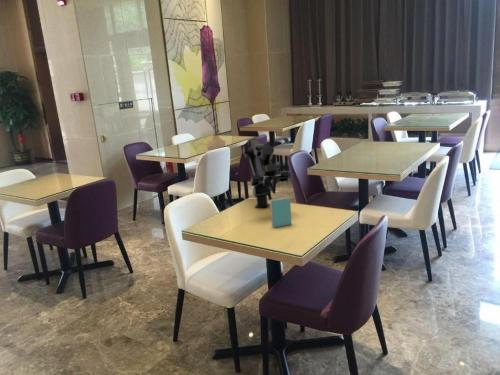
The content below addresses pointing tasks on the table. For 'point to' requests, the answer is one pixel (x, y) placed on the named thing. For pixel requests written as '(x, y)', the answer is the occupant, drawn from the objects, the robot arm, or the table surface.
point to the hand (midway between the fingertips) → (274, 193)
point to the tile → (280, 212)
